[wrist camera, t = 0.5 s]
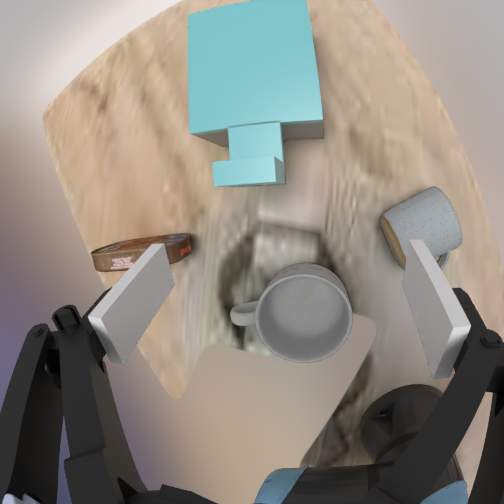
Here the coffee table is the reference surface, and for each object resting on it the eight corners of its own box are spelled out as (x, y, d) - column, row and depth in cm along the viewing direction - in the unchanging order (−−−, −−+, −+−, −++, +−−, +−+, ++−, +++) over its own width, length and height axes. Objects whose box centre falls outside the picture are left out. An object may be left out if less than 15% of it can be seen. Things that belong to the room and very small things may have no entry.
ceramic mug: (371, 213, 36) (383, 220, 29) (425, 184, 34) (447, 184, 26) (404, 286, 37) (419, 308, 30) (455, 258, 35) (479, 274, 27)
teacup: (355, 264, 38) (362, 282, 30) (339, 341, 40) (340, 372, 32) (248, 248, 41) (230, 261, 33) (240, 323, 43) (222, 350, 35)
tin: (199, 230, 42) (170, 240, 34) (202, 253, 42) (174, 268, 34) (114, 241, 46) (78, 251, 38) (117, 261, 46) (82, 274, 38)
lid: (327, 182, 29) (328, 179, 22) (201, 190, 32) (170, 191, 26) (306, 4, 25) (300, -32, 19) (195, 22, 29) (169, -5, 22)
